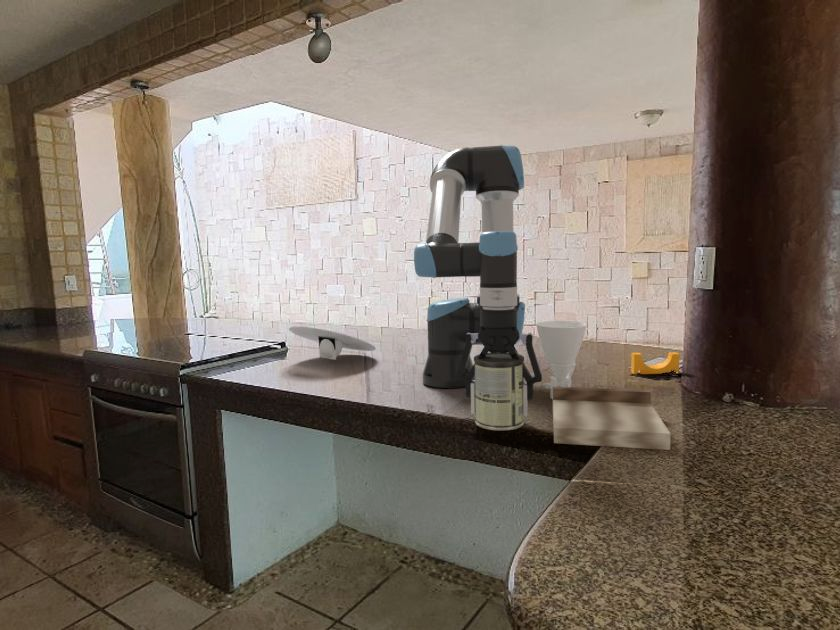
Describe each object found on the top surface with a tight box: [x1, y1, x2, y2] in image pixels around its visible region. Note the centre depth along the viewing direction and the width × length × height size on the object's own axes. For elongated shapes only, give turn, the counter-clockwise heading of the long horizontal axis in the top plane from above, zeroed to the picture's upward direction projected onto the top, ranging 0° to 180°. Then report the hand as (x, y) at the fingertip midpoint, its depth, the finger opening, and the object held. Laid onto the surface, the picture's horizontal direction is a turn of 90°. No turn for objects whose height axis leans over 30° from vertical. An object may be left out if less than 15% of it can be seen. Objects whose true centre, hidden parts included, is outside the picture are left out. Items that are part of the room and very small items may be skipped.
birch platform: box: [552, 386, 672, 451], centre depth 105 cm, size 20×20×6 cm
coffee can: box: [473, 352, 525, 432], centre depth 109 cm, size 10×10×14 cm
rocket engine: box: [536, 320, 587, 400], centre depth 126 cm, size 12×12×18 cm
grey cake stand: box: [288, 326, 377, 361], centre depth 182 cm, size 28×19×27 cm
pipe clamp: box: [630, 351, 680, 375], centre depth 147 cm, size 12×4×6 cm, turn 85°
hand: (499, 413), depth 110 cm, fingers closed on coffee can, 10 cm apart
